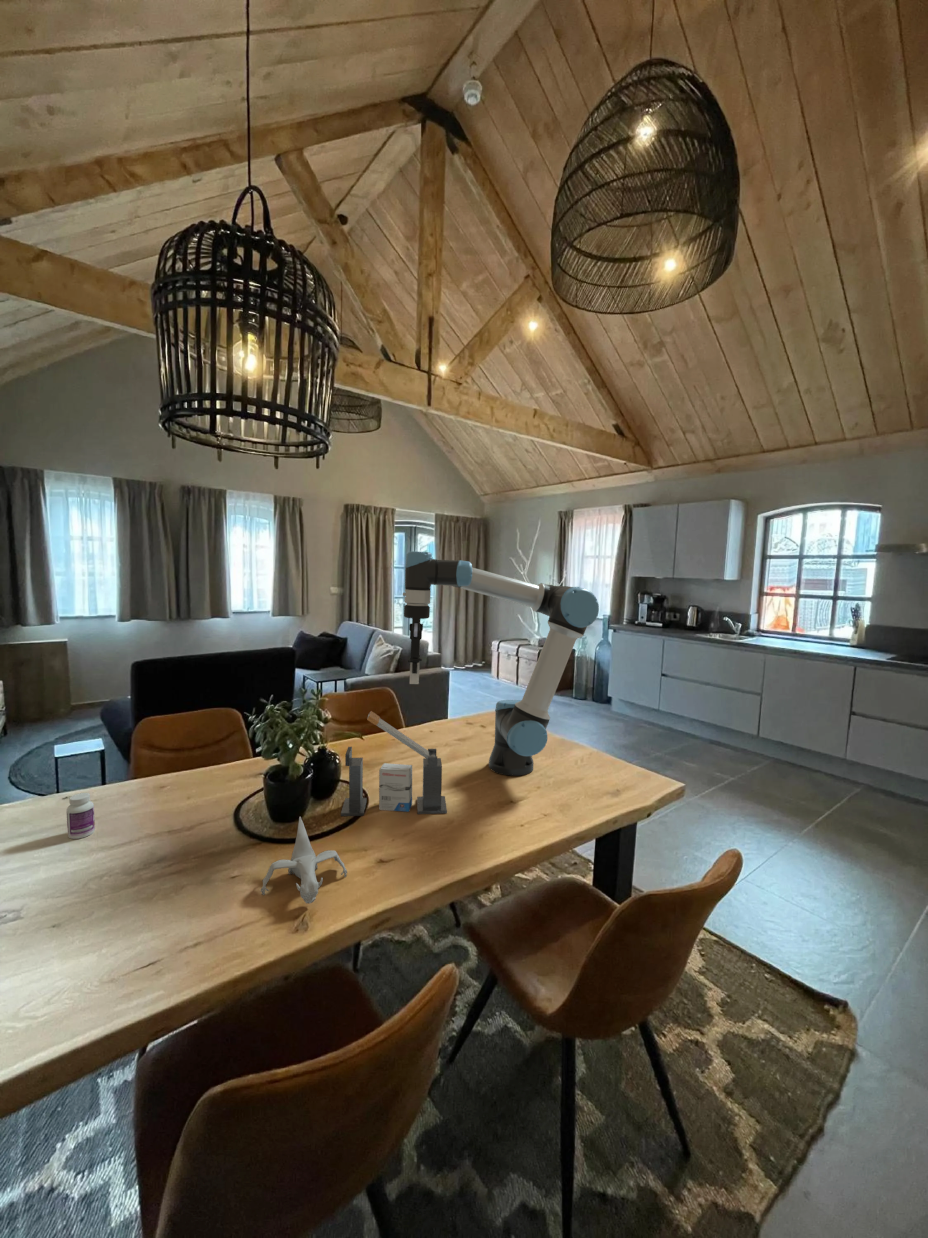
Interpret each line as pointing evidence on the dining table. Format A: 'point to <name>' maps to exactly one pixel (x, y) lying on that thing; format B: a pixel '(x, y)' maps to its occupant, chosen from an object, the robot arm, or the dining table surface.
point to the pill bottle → (80, 816)
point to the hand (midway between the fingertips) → (414, 683)
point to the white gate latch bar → (398, 735)
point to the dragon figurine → (304, 865)
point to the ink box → (395, 787)
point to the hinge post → (432, 787)
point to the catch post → (354, 787)
